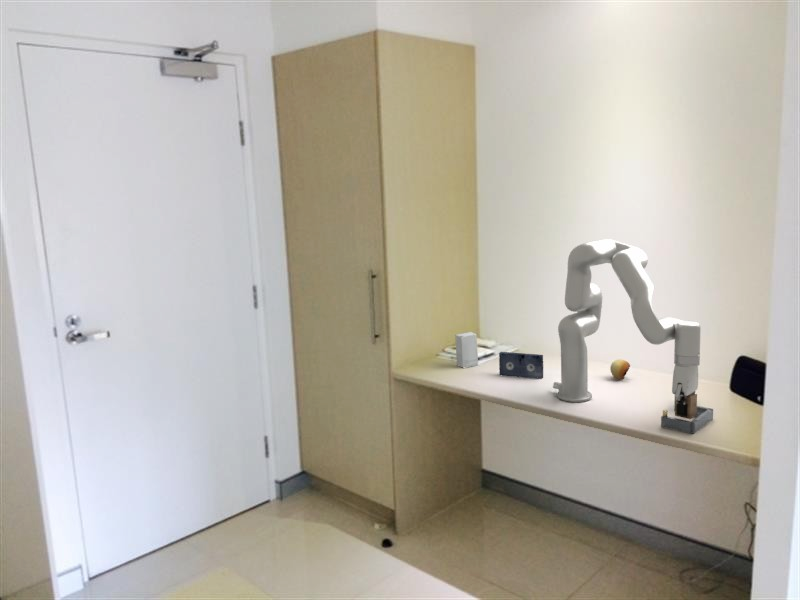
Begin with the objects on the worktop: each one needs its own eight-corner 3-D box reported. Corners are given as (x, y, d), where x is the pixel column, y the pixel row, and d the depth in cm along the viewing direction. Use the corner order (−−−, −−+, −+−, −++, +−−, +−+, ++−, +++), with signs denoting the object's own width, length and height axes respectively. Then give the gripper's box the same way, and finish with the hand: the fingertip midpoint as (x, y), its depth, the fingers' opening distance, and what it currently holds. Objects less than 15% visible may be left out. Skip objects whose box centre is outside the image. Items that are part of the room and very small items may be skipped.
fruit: (627, 375, 264) (627, 356, 262) (632, 381, 255) (632, 362, 254) (608, 376, 264) (608, 357, 263) (612, 382, 256) (612, 362, 255)
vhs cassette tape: (543, 377, 267) (543, 354, 266) (541, 379, 265) (541, 356, 263) (501, 373, 276) (500, 351, 274) (499, 375, 273) (498, 353, 272)
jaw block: (674, 415, 211) (675, 393, 210) (681, 411, 214) (681, 389, 213) (690, 419, 207) (690, 396, 206) (696, 414, 211) (697, 392, 210)
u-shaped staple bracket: (660, 426, 209) (661, 410, 208) (681, 412, 220) (682, 397, 219) (692, 434, 202) (693, 417, 201) (713, 419, 213) (713, 403, 212)
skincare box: (471, 362, 295) (470, 331, 292) (478, 365, 289) (477, 333, 287) (455, 365, 291) (454, 333, 289) (462, 368, 286) (461, 336, 283)
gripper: (685, 352, 216) (684, 403, 219) (664, 363, 205) (662, 417, 208) (709, 355, 211) (707, 408, 214) (688, 367, 199) (686, 423, 202)
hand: (685, 412), depth 211 cm, fingers closed on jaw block, 4 cm apart
